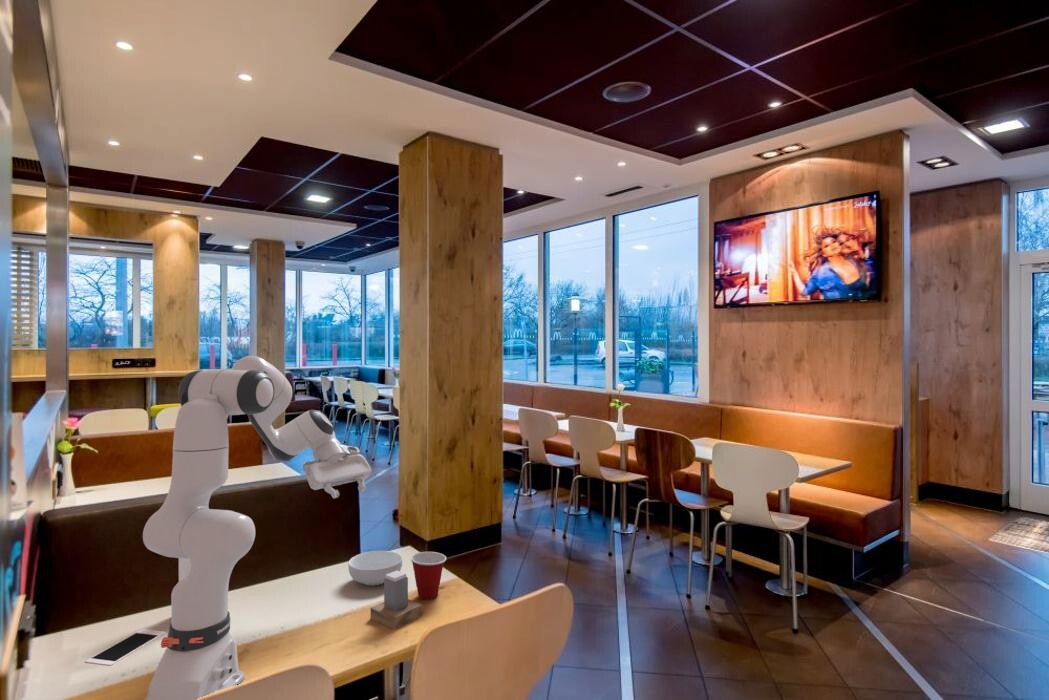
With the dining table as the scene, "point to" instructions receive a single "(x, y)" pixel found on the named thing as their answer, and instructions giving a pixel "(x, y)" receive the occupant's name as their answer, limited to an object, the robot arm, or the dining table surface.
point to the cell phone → (125, 647)
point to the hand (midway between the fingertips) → (350, 493)
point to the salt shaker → (395, 591)
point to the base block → (396, 614)
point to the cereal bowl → (374, 566)
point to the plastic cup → (428, 573)
